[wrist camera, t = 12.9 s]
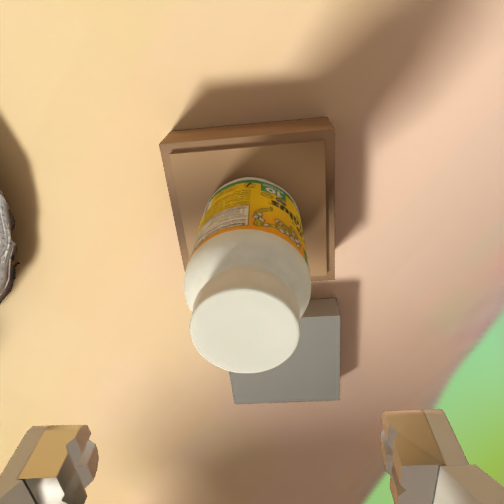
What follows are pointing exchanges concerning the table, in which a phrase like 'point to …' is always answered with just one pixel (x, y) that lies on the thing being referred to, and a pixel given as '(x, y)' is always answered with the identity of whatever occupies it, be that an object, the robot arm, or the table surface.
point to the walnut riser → (257, 176)
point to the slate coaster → (300, 363)
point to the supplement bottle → (248, 277)
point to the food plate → (6, 248)
